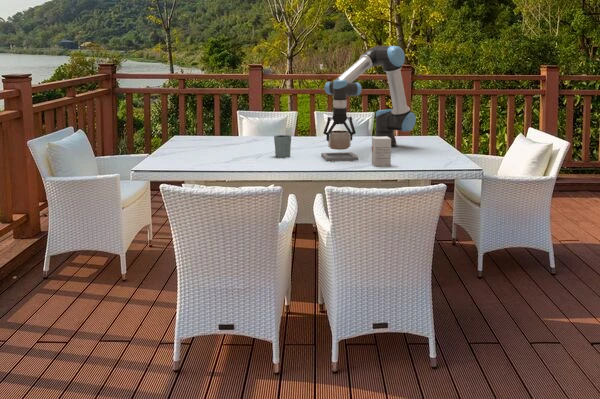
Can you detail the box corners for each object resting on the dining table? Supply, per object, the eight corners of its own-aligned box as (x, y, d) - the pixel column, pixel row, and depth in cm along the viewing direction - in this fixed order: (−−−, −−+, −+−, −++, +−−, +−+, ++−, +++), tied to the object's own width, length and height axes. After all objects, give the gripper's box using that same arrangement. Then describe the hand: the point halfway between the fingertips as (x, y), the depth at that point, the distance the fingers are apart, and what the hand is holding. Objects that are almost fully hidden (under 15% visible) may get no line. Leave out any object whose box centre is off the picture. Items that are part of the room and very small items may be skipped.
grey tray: (351, 155, 419) (351, 152, 419) (359, 161, 399) (359, 157, 399) (321, 156, 417) (321, 153, 417) (327, 162, 397) (327, 158, 397)
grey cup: (278, 158, 410) (278, 137, 408) (271, 156, 419) (270, 135, 417) (294, 157, 415) (294, 136, 412) (286, 154, 424) (286, 134, 421)
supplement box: (371, 163, 392) (371, 136, 388) (387, 163, 392) (388, 136, 389) (374, 166, 383) (374, 138, 380) (390, 166, 383) (391, 138, 380)
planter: (347, 150, 402) (347, 132, 400) (328, 149, 404) (328, 132, 402) (350, 147, 412) (350, 130, 410) (331, 146, 414) (331, 130, 412)
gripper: (320, 108, 398) (320, 147, 403) (361, 107, 401) (360, 147, 406) (318, 107, 405) (317, 146, 410) (358, 106, 408) (358, 145, 413)
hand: (339, 146), depth 408 cm, fingers closed on planter, 11 cm apart
